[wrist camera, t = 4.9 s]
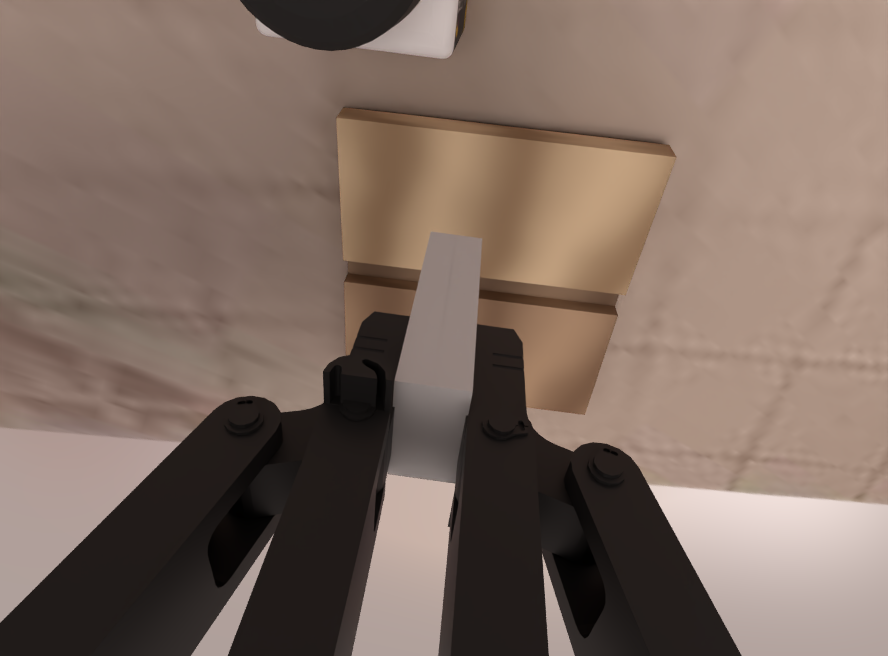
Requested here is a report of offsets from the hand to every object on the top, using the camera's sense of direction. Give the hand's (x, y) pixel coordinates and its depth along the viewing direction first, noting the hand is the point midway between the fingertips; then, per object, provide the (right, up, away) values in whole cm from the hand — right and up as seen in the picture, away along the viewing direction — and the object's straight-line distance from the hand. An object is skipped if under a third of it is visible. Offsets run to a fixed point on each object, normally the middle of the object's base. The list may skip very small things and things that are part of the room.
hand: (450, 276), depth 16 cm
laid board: (+2, -2, +18) cm, 19 cm away
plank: (+3, +5, +13) cm, 14 cm away
